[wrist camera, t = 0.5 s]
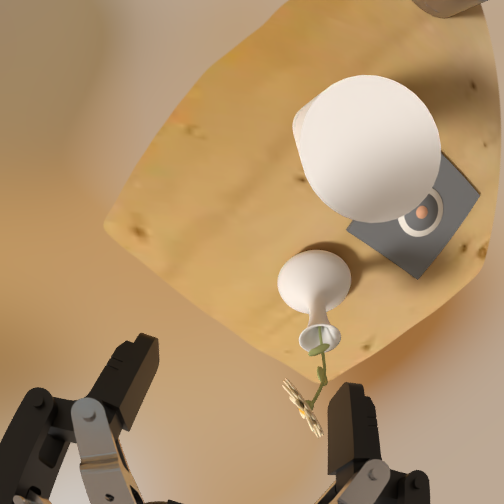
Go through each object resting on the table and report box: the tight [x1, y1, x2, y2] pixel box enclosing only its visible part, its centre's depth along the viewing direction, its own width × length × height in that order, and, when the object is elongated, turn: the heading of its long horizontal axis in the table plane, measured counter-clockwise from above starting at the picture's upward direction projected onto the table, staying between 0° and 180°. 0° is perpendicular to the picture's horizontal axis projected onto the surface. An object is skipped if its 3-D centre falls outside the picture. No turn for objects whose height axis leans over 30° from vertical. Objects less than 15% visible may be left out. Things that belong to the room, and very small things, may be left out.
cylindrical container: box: [293, 75, 441, 223], centre depth 22 cm, size 7×7×25 cm
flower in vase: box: [278, 250, 351, 437], centre depth 33 cm, size 13×11×25 cm
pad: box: [346, 154, 480, 280], centre depth 36 cm, size 18×16×1 cm
